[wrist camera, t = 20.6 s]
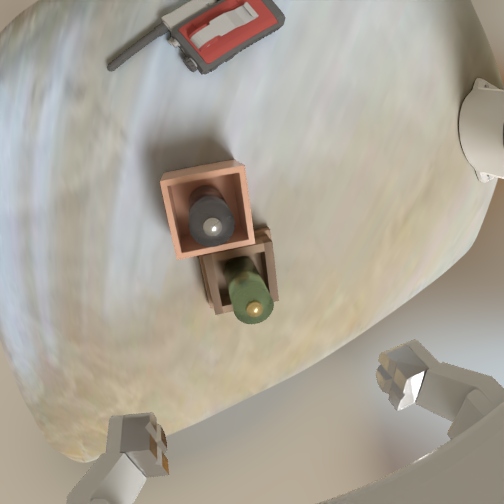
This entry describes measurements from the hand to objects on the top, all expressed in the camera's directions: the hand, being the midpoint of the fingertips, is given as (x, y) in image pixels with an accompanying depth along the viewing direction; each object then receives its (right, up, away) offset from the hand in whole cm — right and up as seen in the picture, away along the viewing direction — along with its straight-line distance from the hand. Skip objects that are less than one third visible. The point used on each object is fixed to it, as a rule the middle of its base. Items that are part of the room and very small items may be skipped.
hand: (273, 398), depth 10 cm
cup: (-6, +11, +26) cm, 29 cm away
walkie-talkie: (-7, +29, +19) cm, 35 cm away
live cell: (-2, +3, +29) cm, 30 cm away
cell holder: (-3, +3, +30) cm, 31 cm away
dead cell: (-6, +11, +26) cm, 28 cm away
